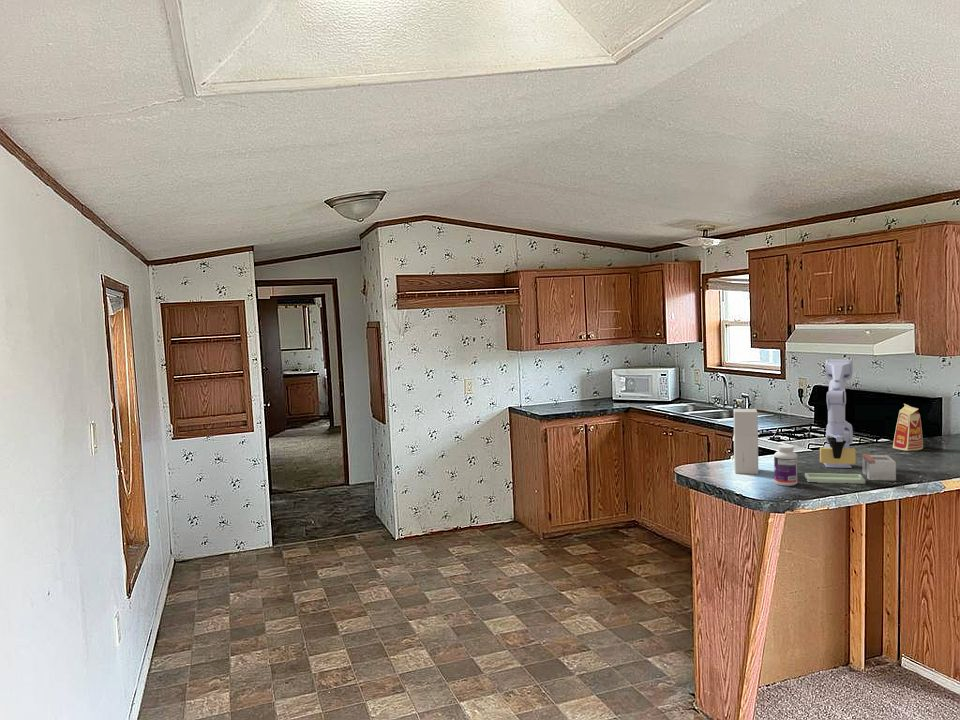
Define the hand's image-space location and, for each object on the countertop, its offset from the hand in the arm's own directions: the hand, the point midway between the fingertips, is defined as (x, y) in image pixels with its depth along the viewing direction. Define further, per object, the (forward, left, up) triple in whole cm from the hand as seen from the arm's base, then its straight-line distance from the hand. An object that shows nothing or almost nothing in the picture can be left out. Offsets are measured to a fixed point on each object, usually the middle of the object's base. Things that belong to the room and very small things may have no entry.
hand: (836, 457), depth 294 cm
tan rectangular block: (0, 0, -2) cm, 2 cm away
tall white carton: (-32, +11, -9) cm, 35 cm away
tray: (-1, -1, -9) cm, 9 cm away
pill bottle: (-19, -9, -9) cm, 23 cm away
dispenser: (+16, +7, -9) cm, 20 cm away
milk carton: (+40, +65, -9) cm, 77 cm away
